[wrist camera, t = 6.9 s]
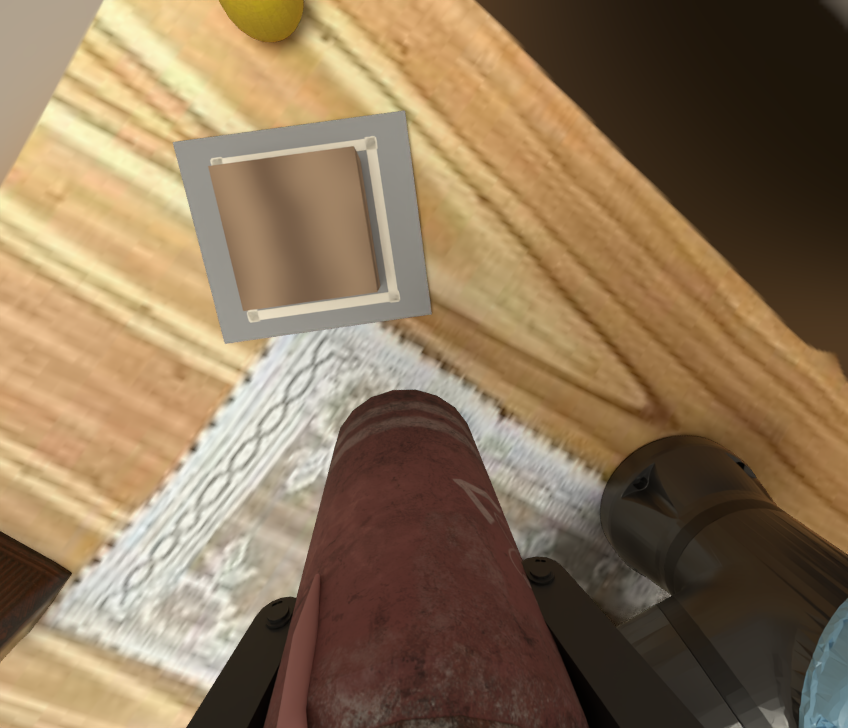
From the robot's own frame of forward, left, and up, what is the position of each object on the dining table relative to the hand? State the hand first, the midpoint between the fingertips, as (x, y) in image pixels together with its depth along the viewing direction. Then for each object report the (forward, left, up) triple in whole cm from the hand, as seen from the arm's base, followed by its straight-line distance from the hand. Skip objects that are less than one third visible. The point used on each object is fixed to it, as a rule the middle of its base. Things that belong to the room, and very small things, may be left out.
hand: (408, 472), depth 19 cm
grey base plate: (+6, -11, -23) cm, 26 cm away
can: (0, 0, -2) cm, 2 cm away
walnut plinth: (+6, -11, -23) cm, 26 cm away
